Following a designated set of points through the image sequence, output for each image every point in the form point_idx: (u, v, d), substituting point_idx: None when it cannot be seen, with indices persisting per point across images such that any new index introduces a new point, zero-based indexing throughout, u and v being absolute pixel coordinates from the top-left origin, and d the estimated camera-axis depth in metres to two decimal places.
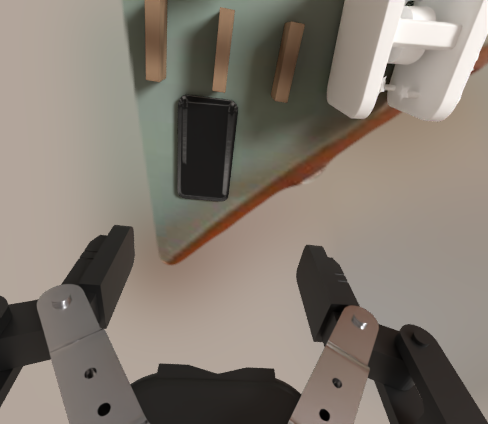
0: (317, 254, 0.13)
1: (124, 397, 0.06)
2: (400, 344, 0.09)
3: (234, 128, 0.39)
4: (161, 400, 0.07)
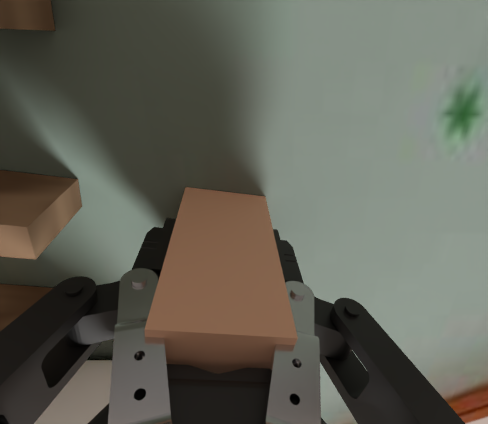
0: None
1: (159, 390, 0.06)
2: (336, 321, 0.10)
3: None
4: None
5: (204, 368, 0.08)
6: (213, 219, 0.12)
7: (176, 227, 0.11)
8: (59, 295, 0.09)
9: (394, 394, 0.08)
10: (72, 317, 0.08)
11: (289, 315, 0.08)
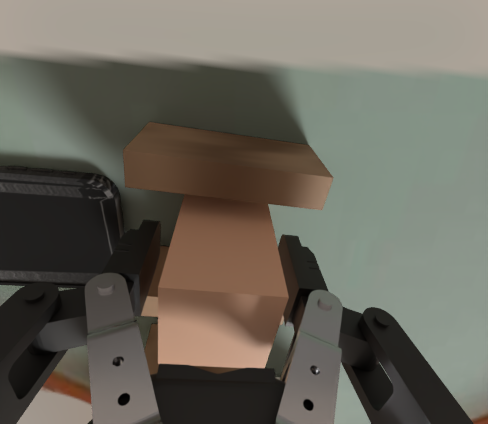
0: (291, 243, 0.13)
1: (144, 391, 0.06)
2: (364, 329, 0.10)
3: (71, 284, 0.18)
4: (161, 400, 0.07)
5: (208, 325, 0.09)
6: (215, 202, 0.13)
7: (182, 208, 0.12)
8: (18, 303, 0.08)
9: (417, 409, 0.07)
10: (37, 323, 0.08)
11: (282, 280, 0.10)
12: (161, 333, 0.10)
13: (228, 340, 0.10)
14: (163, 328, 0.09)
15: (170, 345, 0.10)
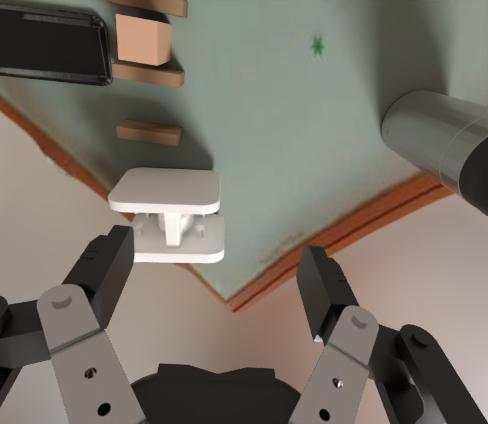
0: (317, 254, 0.13)
1: (124, 397, 0.06)
2: (400, 344, 0.09)
3: (84, 82, 0.38)
4: (161, 400, 0.07)
5: (133, 35, 0.29)
6: None
7: None
8: None
9: None
10: None
11: (157, 21, 0.29)
12: (118, 39, 0.29)
13: (141, 45, 0.30)
14: (118, 36, 0.29)
15: (122, 47, 0.30)
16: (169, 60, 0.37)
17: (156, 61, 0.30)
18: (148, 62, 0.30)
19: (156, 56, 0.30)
